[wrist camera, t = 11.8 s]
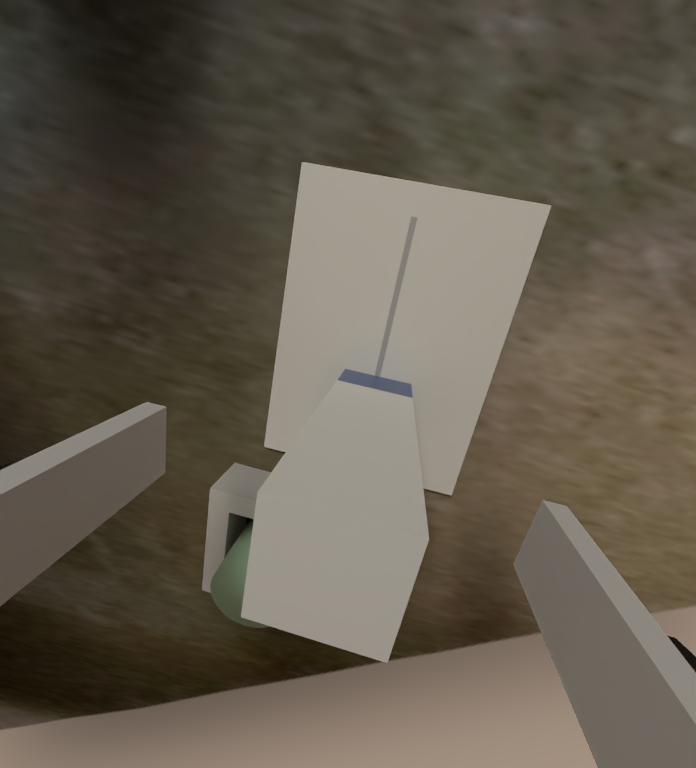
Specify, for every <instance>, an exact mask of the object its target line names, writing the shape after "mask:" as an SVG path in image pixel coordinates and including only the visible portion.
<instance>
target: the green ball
mask: <svg viewBox="0 0 696 768" xmlns="http://www.w3.org/2000/svg"><path fill="white" fill-rule="evenodd" d="M253 521H254V519H253V520H251V521H250V522H249V523H248V524H247V525H246V527H245V528H244V530H243V531H242V533H241V534H240V536H239V537H238V539H237V540H236V542H235V543H234V545H233V546H232V548H231V549H230V551H229V552H228V554H227V556H226V557H225V559H224V560H223V562H222V563H221V565H220V566H219V568H218V569H217V571H216V572H215V574H214V575H213V577H212V580H211V584H210V590H211V595H212V598H213V600H214V602H215V604H216V605H217V607H218V608H219V609H220V610H221V611H222V613H224V614H225V615H226V616H227V617H228V618H230V619H231V620H233V621H235V622H237V623H239V624H241V625H244V626H248V627H253V628H265V627H269V626H267V625H264V624H261V623H258V622H255V621H252V620H248V619H245V618H242V617H241V611H242V604H243V596H244V589H245V581H246V574H247V566H248V559H249V551H250V544H251V536H252V529H253Z"/></svg>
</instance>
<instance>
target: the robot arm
mask: <svg viewBox="0 0 696 768" xmlns="http://www.w3.org/2000/svg"><path fill="white" fill-rule="evenodd" d="M166 409H167V407H165V406H161V405H157V404H153V403H149V402H146V403H143V404H141V405H139V406H137V407H135V408H133V409H130V410H128V411H126V412H124V413H122V414H120V415H118V416H115V417H113V418H111V419H109V420H107V421H105V422H103V423H100V424H98V425H96V426H94V427H92V428H90V429H88V430H85V431H83V432H81V433H79V434H77V435H75V436H72V437H70V438H68V439H66V440H64V441H62V442H60V443H57V444H55V445H53V446H51V447H49V448H47V449H45V450H42V451H40V452H38V453H36V454H34V455H32V456H30V457H27V458H25V459H23V460H21V461H17V462H13V463H10V464H6V465H3V466H0V606H1V605H2V604H4V603H5V602H6V601H7V600H9V599H10V598H11V597H12V596H14V595H15V594H16V593H17V592H18V591H20V590H21V589H22V588H23V587H25V586H26V585H27V584H28V583H30V582H31V581H32V580H33V579H35V578H36V577H37V576H38V575H39V574H41V573H42V572H43V571H44V570H46V569H47V568H48V567H49V566H51V565H52V564H53V563H54V562H56V561H57V560H58V559H59V558H60V557H62V556H63V555H64V554H65V553H67V552H68V551H69V550H70V549H72V548H73V547H74V546H75V545H77V544H78V543H79V542H80V541H81V540H83V539H84V538H85V537H86V536H88V535H89V534H90V533H91V532H93V531H94V530H95V529H96V528H98V527H99V526H100V525H101V524H102V523H104V522H105V521H106V520H107V519H109V518H110V517H111V516H112V515H114V514H115V513H116V512H117V511H119V510H120V509H121V508H122V507H123V506H125V505H126V504H127V503H128V502H130V501H131V500H132V499H133V498H135V497H136V496H137V495H138V494H140V493H141V492H142V491H143V490H144V489H146V488H147V487H148V486H149V485H151V484H152V483H153V482H154V481H156V480H157V479H158V478H159V477H161V476H162V475H163V474H164V473H165V457H166ZM513 566H514V568H515V571H516V573H517V575H518V578H519V580H520V583H521V585H522V587H523V590H524V592H525V595H526V597H527V599H528V602H529V604H530V606H531V609H532V611H533V614H534V616H535V618H536V621H537V623H538V626H539V628H540V630H541V633H542V635H543V637H544V640H545V642H546V645H547V647H548V649H549V651H550V654H551V657H552V659H553V661H554V664H555V666H556V669H557V671H558V673H559V676H560V678H561V680H562V683H563V685H564V688H565V690H566V692H567V695H568V697H569V700H570V702H571V704H572V707H573V709H574V712H575V714H576V716H577V719H578V721H579V723H580V726H581V728H582V730H583V733H584V735H585V738H586V740H587V742H588V745H589V747H590V750H591V752H592V755H593V757H594V759H595V762H596V764H597V766H598V768H696V657H695V656H694V655H693V654H692V653H691V652H690V651H689V650H688V649H687V648H686V647H684V646H683V645H682V644H681V643H680V642H679V641H678V640H677V639H676V638H674V637H670V636H667V635H666V634H665V632H664V631H663V630H662V628H661V627H660V626H659V625H658V623H657V622H656V621H655V619H654V618H653V617H652V616H651V614H650V613H649V612H648V610H647V609H646V608H645V606H644V605H643V604H642V603H641V601H640V600H639V599H638V597H637V596H636V595H635V594H634V592H633V591H632V590H631V588H630V587H629V586H628V585H627V583H626V582H625V581H624V579H623V578H622V577H621V575H620V574H619V573H618V572H617V570H616V569H615V568H614V566H613V565H612V564H611V563H610V561H609V560H608V559H607V557H606V556H605V555H604V554H603V552H602V551H601V550H600V548H599V547H598V546H597V544H596V543H595V542H594V541H593V539H592V538H591V537H590V535H589V534H588V533H587V532H586V530H585V529H584V528H583V526H582V525H581V524H580V523H579V521H578V520H577V519H576V517H575V516H574V515H573V513H572V512H571V511H570V510H569V508H568V507H567V506H564V505H560V504H556V503H552V502H548V501H544V500H542V503H541V505H540V507H539V509H538V511H537V513H536V516H535V518H534V520H533V522H532V524H531V527H530V529H529V531H528V533H527V535H526V537H525V540H524V542H523V544H522V546H521V548H520V551H519V553H518V555H517V557H516V559H515V561H514V564H513Z"/></svg>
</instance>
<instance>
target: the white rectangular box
mask: <svg viewBox="0 0 696 768" xmlns="http://www.w3.org/2000/svg"><path fill="white" fill-rule="evenodd" d="M428 541H429V534H428V525H427V517H426V508H425V499H424V491H423V482H422V473H421V465H420V456H419V447H418V439H417V430H416V421H415V413H414V404H413V396H412V387H411V384H409V383H404V382H400V381H396V380H391V379H387V378H383V377H379V376H374V375H370V374H366V373H361V372H357V371H353V370H349V369H345V370H344V371H343V373H342V374H341V376H340V377H339V378H338V380H337V381H336V383H335V384H334V385H333V387H332V388H331V390H330V391H329V392H328V394H327V395H326V397H325V398H324V399H323V401H322V402H321V404H320V405H319V406H318V408H317V409H316V411H315V412H314V413H313V415H312V416H311V418H310V419H309V420H308V422H307V423H306V425H305V426H304V427H303V429H302V430H301V432H300V433H299V434H298V436H297V437H296V439H295V440H294V441H293V443H292V444H291V446H290V447H289V448H288V450H287V451H286V453H285V454H284V455H283V457H282V458H281V460H280V461H279V462H278V464H277V465H276V467H275V468H274V469H273V471H272V472H271V474H270V475H269V476H268V478H267V479H266V481H265V482H264V483H263V485H262V486H261V488H260V489H259V490H258V492H257V499H256V506H255V514H254V521H253V529H252V536H251V544H250V551H249V559H248V566H247V574H246V581H245V589H244V596H243V604H242V611H241V617H242V618H245V619H248V620H252V621H255V622H258V623H261V624H264V625H267V626H271V627H274V628H277V629H280V630H283V631H287V632H290V633H293V634H296V635H299V636H302V637H306V638H309V639H312V640H315V641H318V642H322V643H325V644H328V645H331V646H334V647H338V648H341V649H344V650H347V651H350V652H353V653H357V654H360V655H363V656H366V657H369V658H373V659H376V660H379V661H382V662H385V663H388V660H389V657H390V654H391V651H392V648H393V645H394V642H395V639H396V636H397V633H398V630H399V627H400V624H401V621H402V618H403V615H404V612H405V609H406V606H407V603H408V600H409V597H410V594H411V591H412V589H413V586H414V583H415V580H416V577H417V574H418V571H419V568H420V565H421V562H422V559H423V556H424V553H425V550H426V547H427V544H428Z"/></svg>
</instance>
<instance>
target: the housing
mask: <svg viewBox="0 0 696 768" xmlns="http://www.w3.org/2000/svg"><path fill="white" fill-rule="evenodd" d="M270 474H271V472H267V471H264V470H260V469H256V468H253V467H249V466H245V465H241V464H238V463H234V464H233V465H232V466H231V467H230V468H229V469H228V470H227V471H226V472H225V473H224V475H223V476H222V477H221V478H220V479H219V480H218V481H217V482H216V483H215V484H214V485H213V486H212V487H211V488H210V496H209V509H208V521H207V534H206V546H205V558H204V571H203V583H202V590H203V591H206V592H209V593H211V590H210V584H211V580H212V577H213V575H214V574H215V572H216V571H217V569H218V568H219V566H220V565H221V563H222V562H223V560H224V559H225V557H226V556H227V554H228V552H229V551H230V549H231V548H232V546H233V545H234V543H235V542H236V540H237V539H238V537H239V536H240V534H241V533H242V531H243V530H244V528H245V527H246V520H247V518H251V519H254V514H255V506H256V499H257V492H258V490H259V489H260V488H261V486H262V485H263V483H264V482H265V481H266V479H267V478H268V476H269V475H270Z"/></svg>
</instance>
